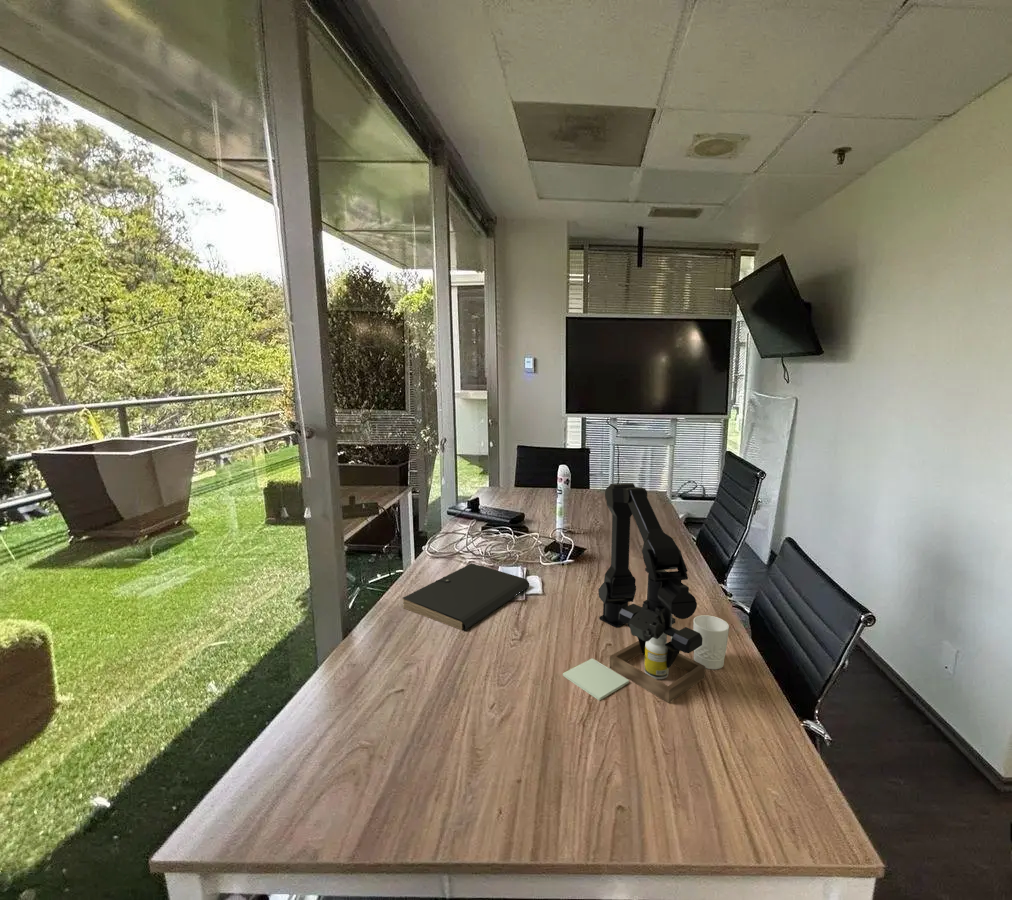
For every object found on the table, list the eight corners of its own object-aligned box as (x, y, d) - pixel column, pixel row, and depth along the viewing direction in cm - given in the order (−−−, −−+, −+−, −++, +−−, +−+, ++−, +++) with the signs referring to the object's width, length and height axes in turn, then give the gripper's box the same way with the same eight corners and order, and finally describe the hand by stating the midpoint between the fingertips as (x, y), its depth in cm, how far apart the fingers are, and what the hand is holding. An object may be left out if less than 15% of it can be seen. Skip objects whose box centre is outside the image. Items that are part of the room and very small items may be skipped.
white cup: (705, 673, 113) (707, 633, 111) (684, 655, 120) (686, 617, 119) (733, 668, 115) (736, 628, 113) (711, 650, 122) (713, 613, 121)
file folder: (471, 562, 171) (529, 579, 157) (471, 573, 171) (529, 591, 158) (401, 596, 144) (465, 620, 130) (402, 609, 144) (465, 634, 131)
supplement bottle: (649, 663, 117) (651, 625, 115) (671, 672, 113) (674, 633, 112) (640, 673, 112) (642, 634, 111) (662, 683, 109) (665, 642, 108)
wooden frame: (609, 667, 115) (609, 655, 114) (645, 647, 123) (646, 636, 123) (668, 703, 102) (669, 690, 102) (704, 678, 111) (705, 666, 110)
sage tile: (562, 675, 112) (562, 673, 112) (592, 660, 118) (592, 658, 118) (599, 700, 103) (599, 698, 103) (629, 682, 109) (629, 680, 109)
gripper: (604, 592, 112) (602, 654, 115) (676, 624, 98) (672, 695, 100) (634, 580, 119) (632, 639, 122) (705, 608, 105) (701, 675, 107)
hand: (656, 660), depth 112 cm, fingers open, 6 cm apart
